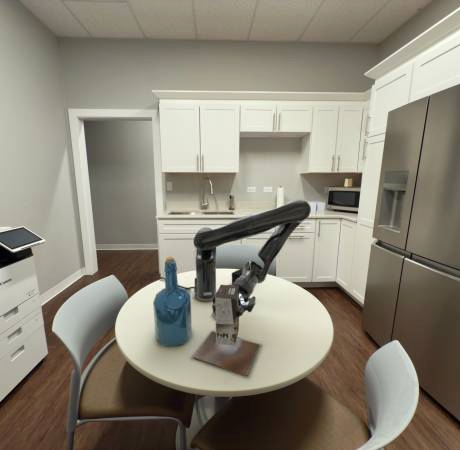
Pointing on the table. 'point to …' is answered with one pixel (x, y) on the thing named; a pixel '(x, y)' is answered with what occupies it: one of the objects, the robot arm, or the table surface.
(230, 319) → the coffee box
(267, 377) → the table surface
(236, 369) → the wooden board
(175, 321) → the wine bottle
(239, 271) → the digital camera
